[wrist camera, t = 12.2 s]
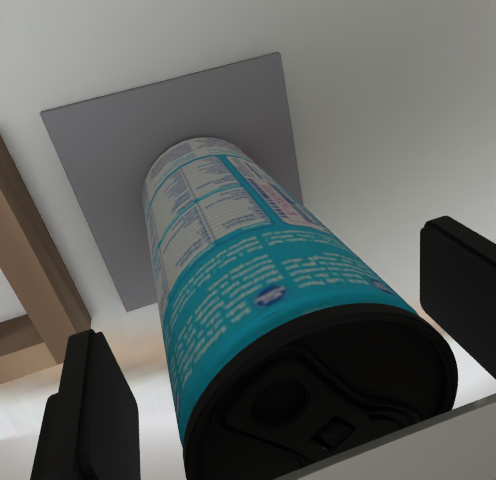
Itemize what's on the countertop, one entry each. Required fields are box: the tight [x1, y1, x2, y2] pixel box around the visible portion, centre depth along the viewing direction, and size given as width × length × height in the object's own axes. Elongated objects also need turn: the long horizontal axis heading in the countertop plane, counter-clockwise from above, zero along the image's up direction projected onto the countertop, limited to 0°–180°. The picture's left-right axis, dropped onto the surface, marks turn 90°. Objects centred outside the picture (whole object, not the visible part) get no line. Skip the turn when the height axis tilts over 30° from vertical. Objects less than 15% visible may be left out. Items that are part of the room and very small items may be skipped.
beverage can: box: [142, 137, 458, 480], centre depth 15 cm, size 6×6×15 cm
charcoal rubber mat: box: [40, 52, 303, 312], centre depth 22 cm, size 11×11×1 cm
